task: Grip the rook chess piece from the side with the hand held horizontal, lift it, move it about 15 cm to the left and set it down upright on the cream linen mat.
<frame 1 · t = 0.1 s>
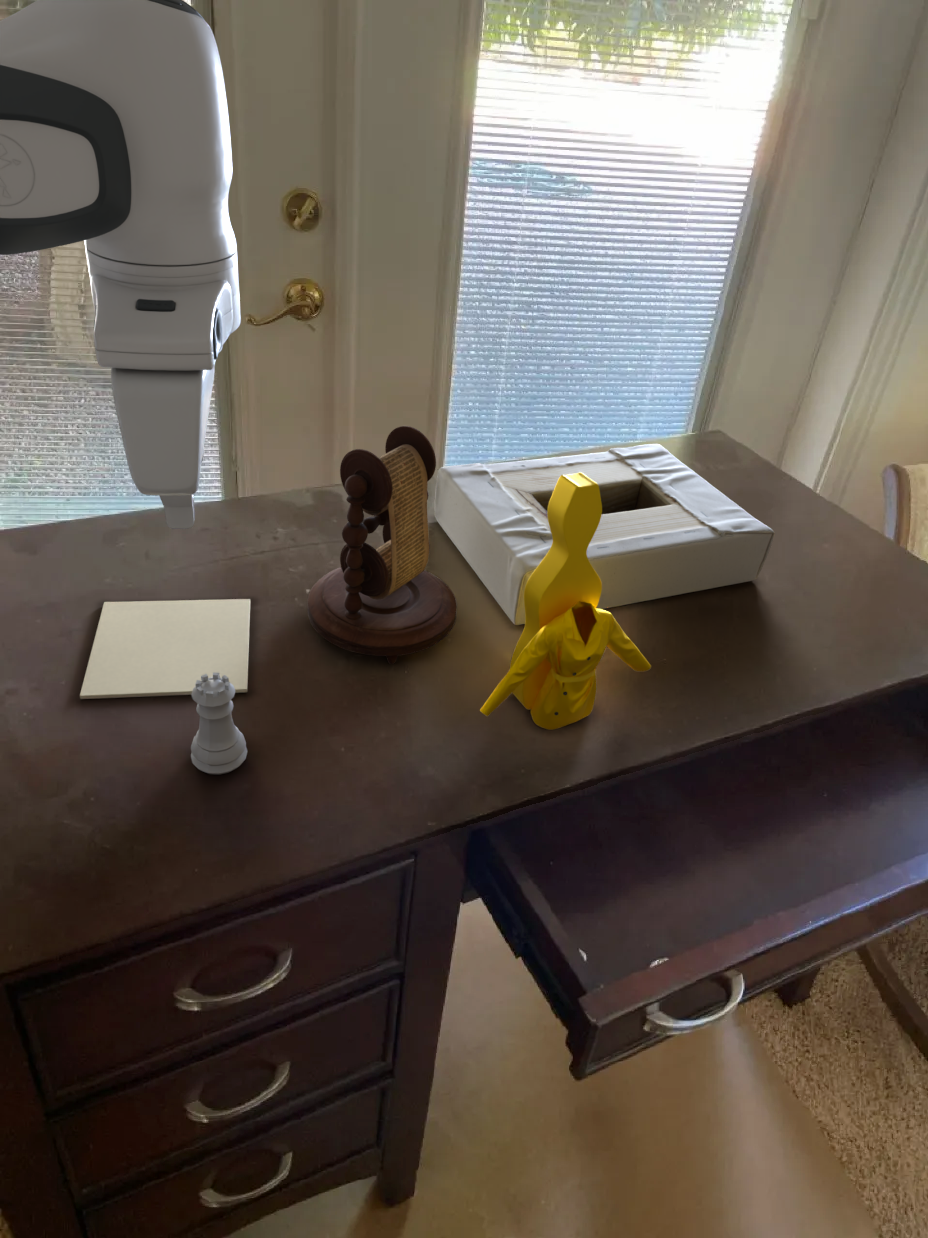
hand: (187, 490, 64), 22 cm above the table, tool pointing down, fingers open, 8 cm apart
linen mat: (172, 646, 83), on the table
rook chess piece: (219, 759, 73), on the table
scroll: (381, 623, 90), on the table
box: (591, 551, 105), on the table
yellow coat with case: (552, 705, 82), on the table
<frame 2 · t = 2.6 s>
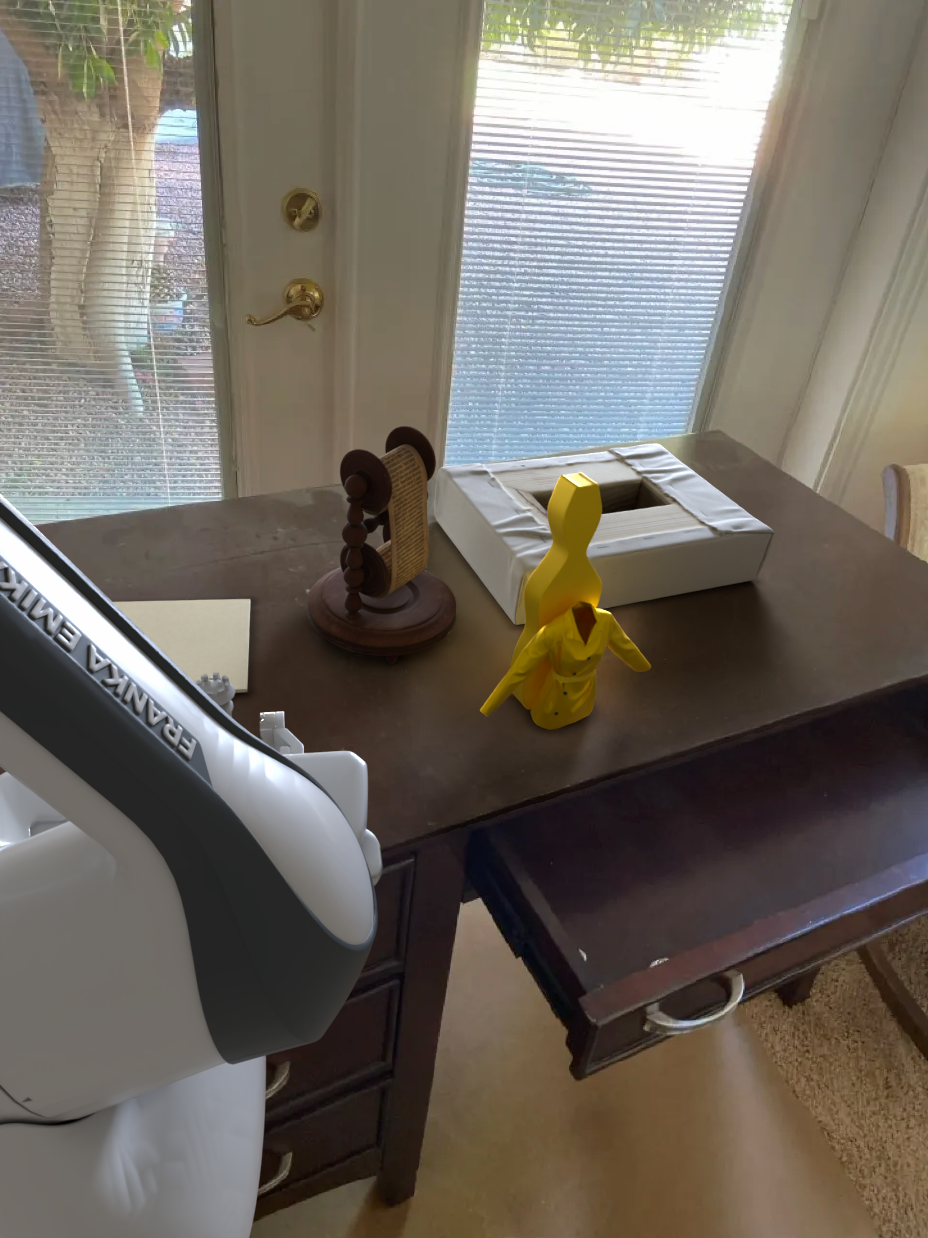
hand: (193, 723, 54), 15 cm above the table, tool horizontal, fingers open, 8 cm apart
nothing on the table moved.
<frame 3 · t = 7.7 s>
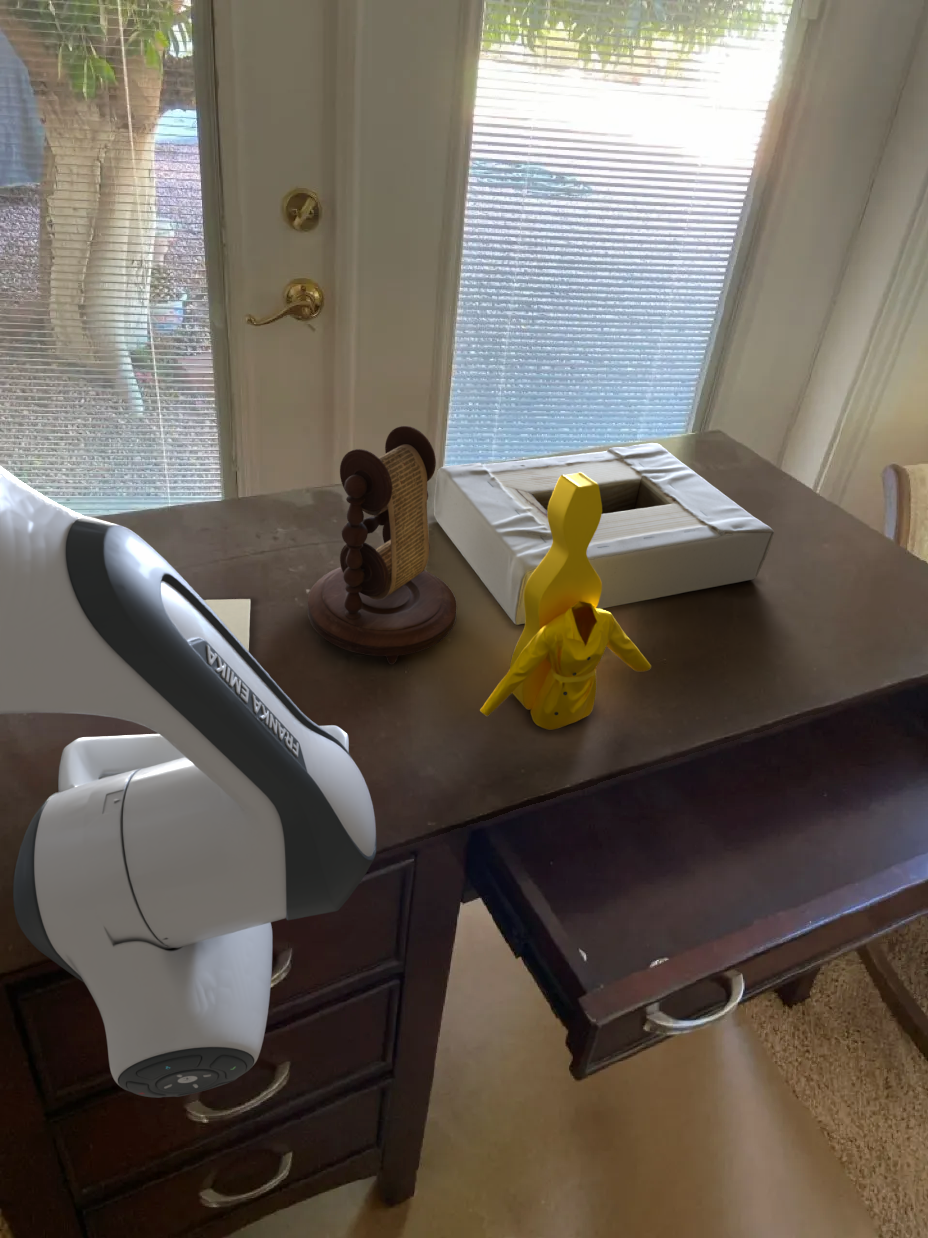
hand: (215, 704, 70), 5 cm above the table, tool horizontal, fingers closed on rook chess piece, 3 cm apart
rook chess piece: (219, 759, 73), on the table, touching gripper
everything else where it was.
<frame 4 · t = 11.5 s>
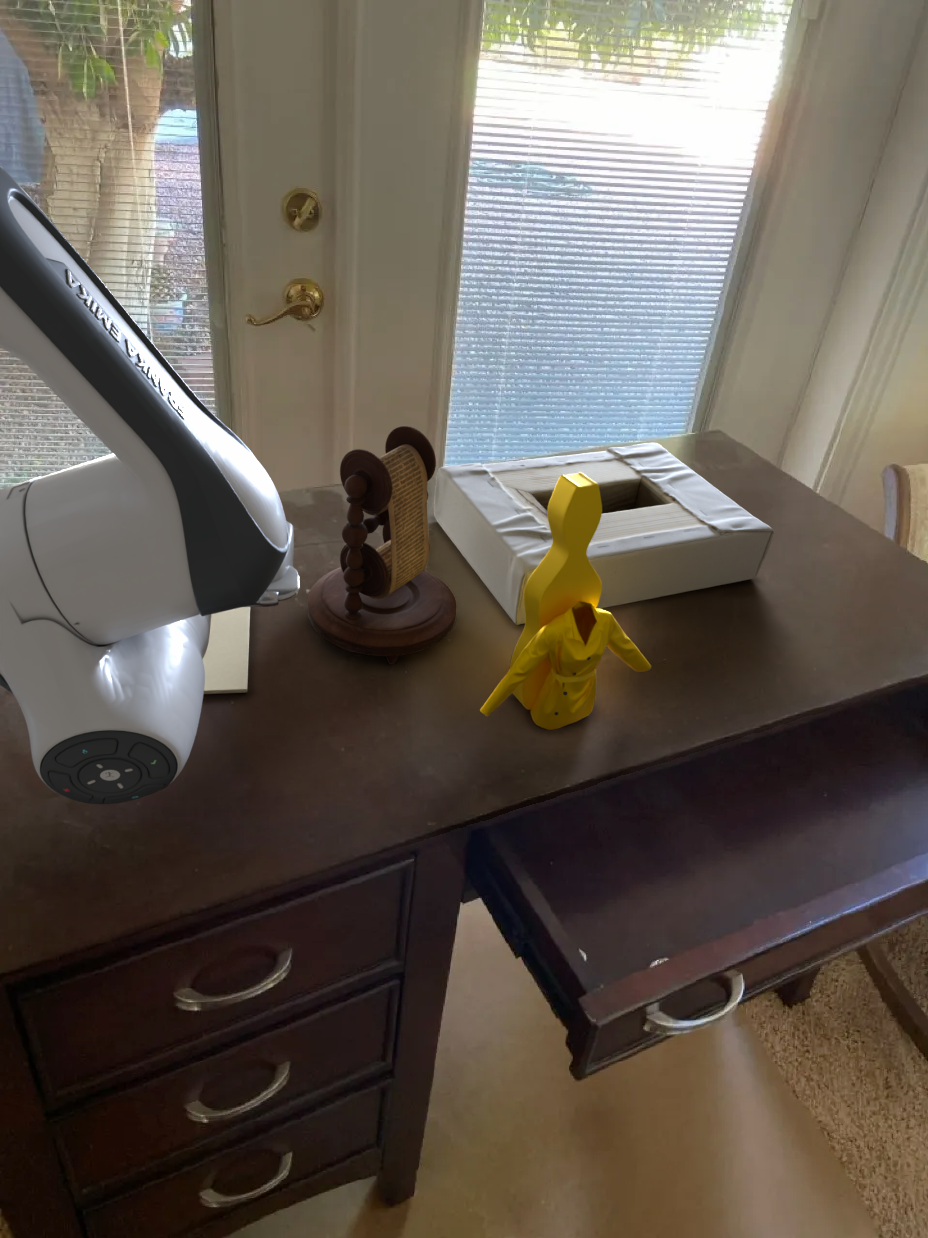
hand: (165, 505, 71), 17 cm above the table, tool horizontal, fingers closed on rook chess piece, 3 cm apart
rook chess piece: (171, 566, 73), point 12 cm above the table, touching gripper
everything else where it was.
when the fingers open (5 cm above the table, at t = 15.5 s): rook chess piece stays where it is, resting on linen mat.
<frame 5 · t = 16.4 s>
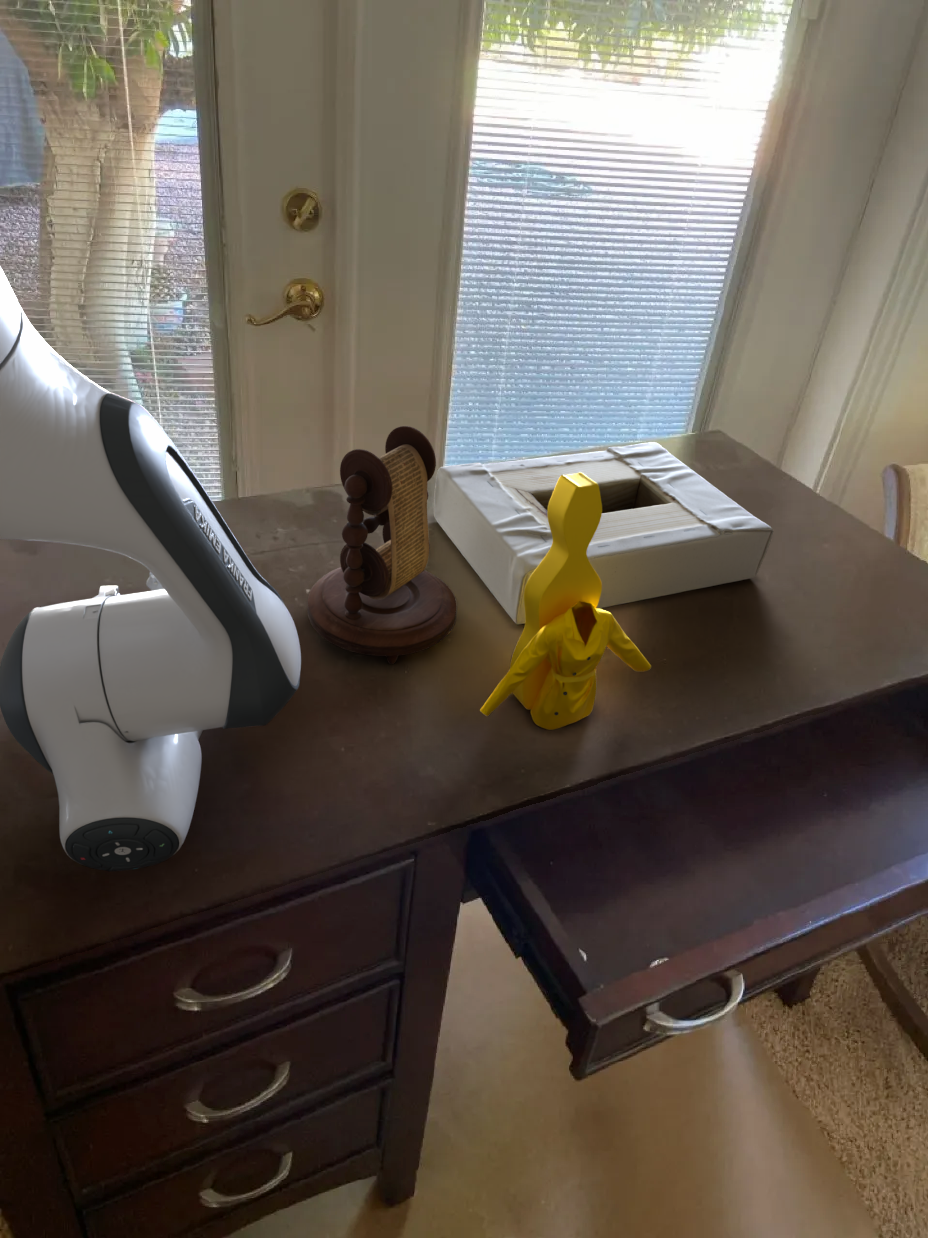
hand: (165, 590, 81), 6 cm above the table, tool horizontal, fingers open, 8 cm apart
rook chess piece: (173, 645, 83), resting on linen mat
everything else where it was.
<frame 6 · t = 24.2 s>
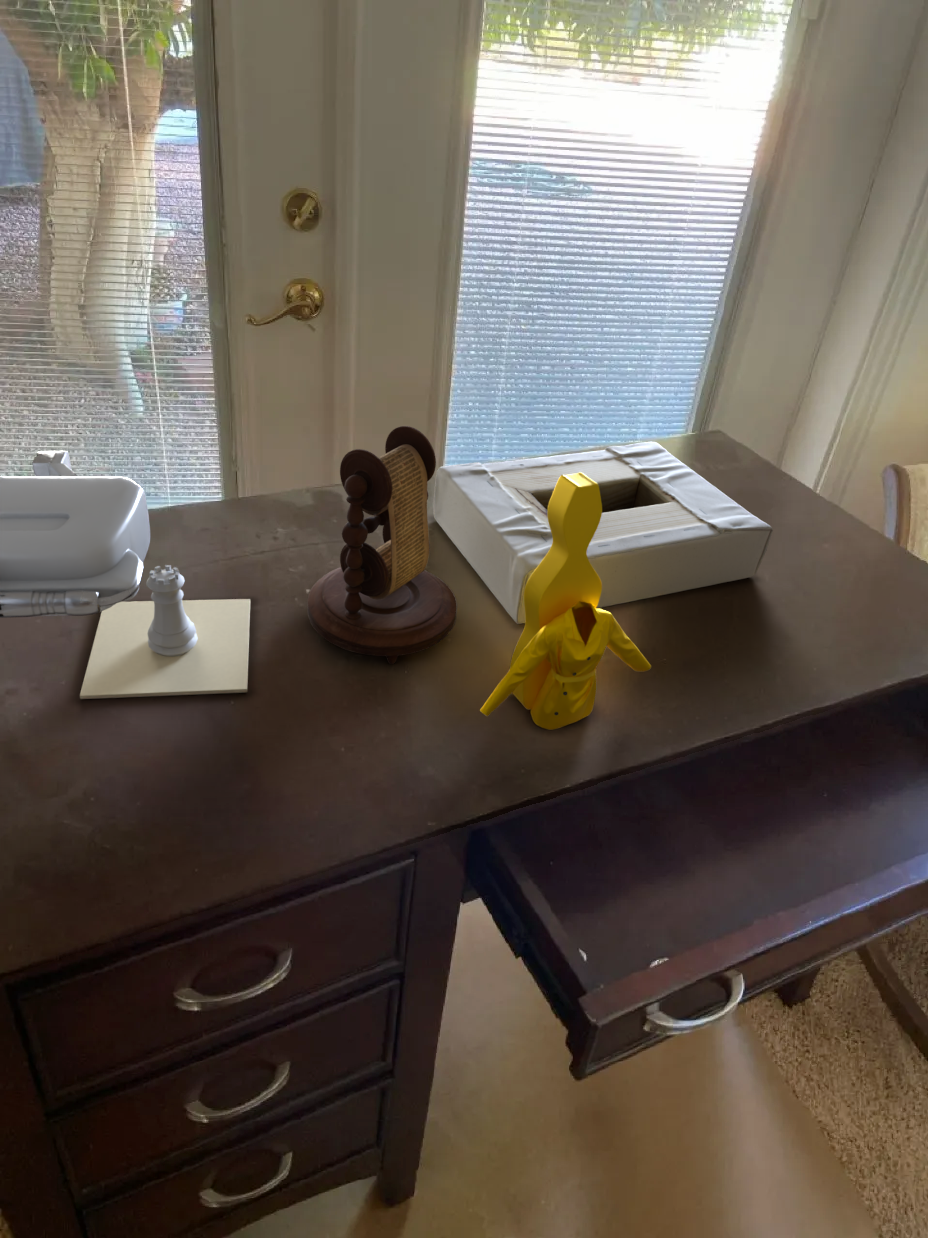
nothing on the table moved.
at the end: rook chess piece inside the target area on the linen mat (0.1 cm from its centre), point 0.2 cm above the linen mat's base; rook chess piece tilted 0°; rook chess piece moved 15.6 cm from its start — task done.
